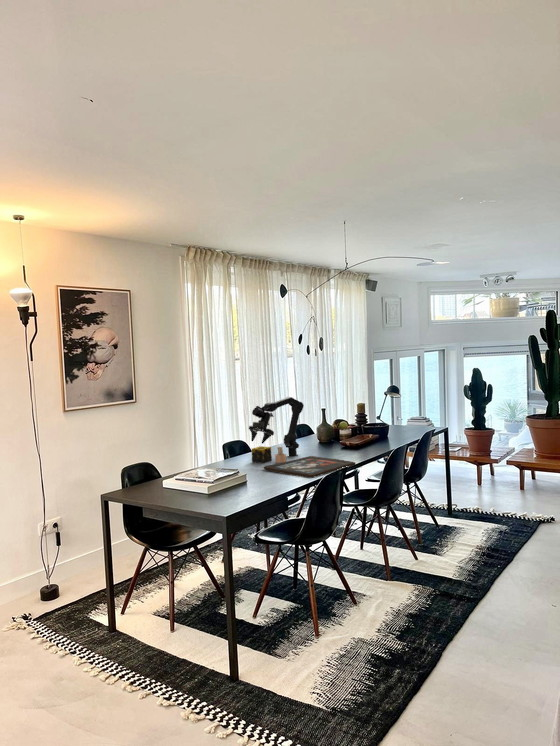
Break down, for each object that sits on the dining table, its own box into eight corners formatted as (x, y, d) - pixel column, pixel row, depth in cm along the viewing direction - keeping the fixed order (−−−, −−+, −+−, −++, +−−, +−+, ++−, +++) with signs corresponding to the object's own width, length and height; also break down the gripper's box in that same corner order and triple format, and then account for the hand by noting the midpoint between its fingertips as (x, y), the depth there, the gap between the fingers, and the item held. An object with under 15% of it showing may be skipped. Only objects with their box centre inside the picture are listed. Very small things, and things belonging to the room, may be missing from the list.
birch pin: (280, 461, 374) (279, 446, 374) (283, 461, 373) (283, 446, 373) (277, 462, 372) (277, 447, 371) (281, 462, 370) (281, 447, 370)
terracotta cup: (278, 461, 377) (278, 453, 377) (288, 461, 374) (287, 453, 374) (273, 463, 371) (273, 455, 371) (283, 463, 368) (282, 455, 367)
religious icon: (261, 471, 349) (261, 466, 349) (309, 459, 381) (309, 455, 381) (309, 479, 320) (309, 474, 320) (356, 466, 352) (356, 461, 352)
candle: (260, 460, 385) (259, 446, 385) (272, 461, 379) (271, 446, 379) (251, 463, 377) (250, 448, 376) (263, 464, 371) (262, 449, 370)
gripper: (247, 414, 378) (239, 436, 374) (268, 418, 366) (260, 440, 362) (257, 420, 386) (249, 441, 382) (277, 424, 374) (270, 446, 370)
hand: (257, 442), depth 374 cm, fingers open, 9 cm apart
